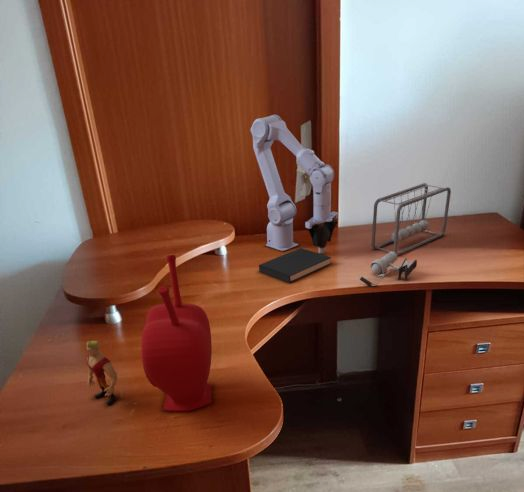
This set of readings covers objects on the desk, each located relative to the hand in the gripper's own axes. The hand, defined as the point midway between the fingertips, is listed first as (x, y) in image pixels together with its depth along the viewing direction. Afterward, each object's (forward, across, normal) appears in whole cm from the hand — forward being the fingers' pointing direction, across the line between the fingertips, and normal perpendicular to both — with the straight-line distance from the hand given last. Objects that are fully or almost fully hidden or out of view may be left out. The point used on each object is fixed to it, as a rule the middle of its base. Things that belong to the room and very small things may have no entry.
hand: (321, 243), depth 176 cm
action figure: (+4, -95, -20) cm, 97 cm away
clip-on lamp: (+4, -3, -29) cm, 30 cm away
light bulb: (+4, 0, 0) cm, 4 cm away
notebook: (+4, -15, -2) cm, 16 cm away
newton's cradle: (+4, +28, -17) cm, 33 cm away
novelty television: (+4, -82, -33) cm, 88 cm away
